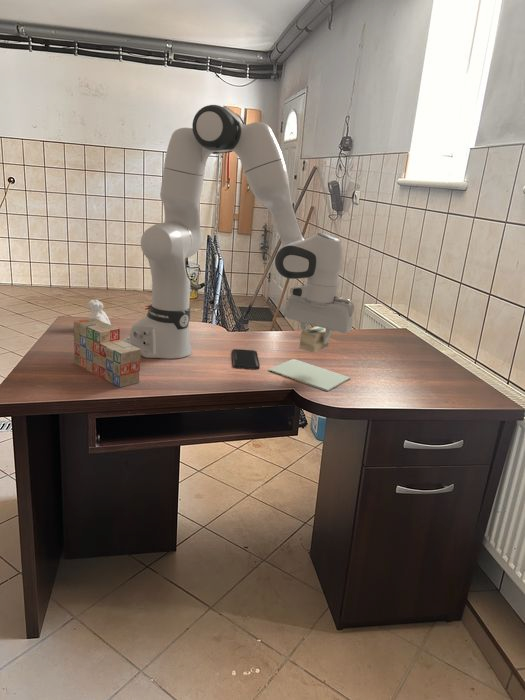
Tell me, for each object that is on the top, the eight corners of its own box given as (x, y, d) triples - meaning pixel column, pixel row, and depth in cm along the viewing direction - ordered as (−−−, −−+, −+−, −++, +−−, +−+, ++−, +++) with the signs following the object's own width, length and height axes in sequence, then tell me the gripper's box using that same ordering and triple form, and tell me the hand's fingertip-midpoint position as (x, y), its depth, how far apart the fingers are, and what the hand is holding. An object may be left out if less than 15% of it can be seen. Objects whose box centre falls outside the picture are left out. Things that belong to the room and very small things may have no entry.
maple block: (314, 342, 154) (317, 325, 152) (328, 346, 152) (330, 329, 150) (299, 348, 147) (301, 331, 145) (313, 352, 144) (315, 335, 143)
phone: (256, 350, 166) (260, 367, 152) (256, 353, 166) (259, 370, 152) (232, 348, 165) (233, 365, 151) (231, 352, 165) (233, 368, 151)
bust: (99, 330, 177) (78, 304, 173) (117, 318, 178) (97, 292, 173) (98, 341, 166) (75, 314, 162) (117, 328, 167) (95, 301, 162)
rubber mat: (268, 370, 152) (268, 369, 152) (293, 360, 163) (293, 358, 163) (327, 391, 141) (328, 389, 141) (350, 378, 152) (350, 377, 152)
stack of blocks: (140, 382, 134) (141, 337, 130) (119, 388, 129) (120, 341, 125) (93, 358, 147) (93, 317, 143) (73, 363, 142) (73, 320, 138)
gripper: (359, 299, 141) (352, 347, 146) (296, 285, 152) (291, 330, 156) (349, 302, 136) (342, 351, 141) (285, 287, 147) (280, 333, 151)
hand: (314, 340), depth 149 cm, fingers closed on maple block, 4 cm apart
